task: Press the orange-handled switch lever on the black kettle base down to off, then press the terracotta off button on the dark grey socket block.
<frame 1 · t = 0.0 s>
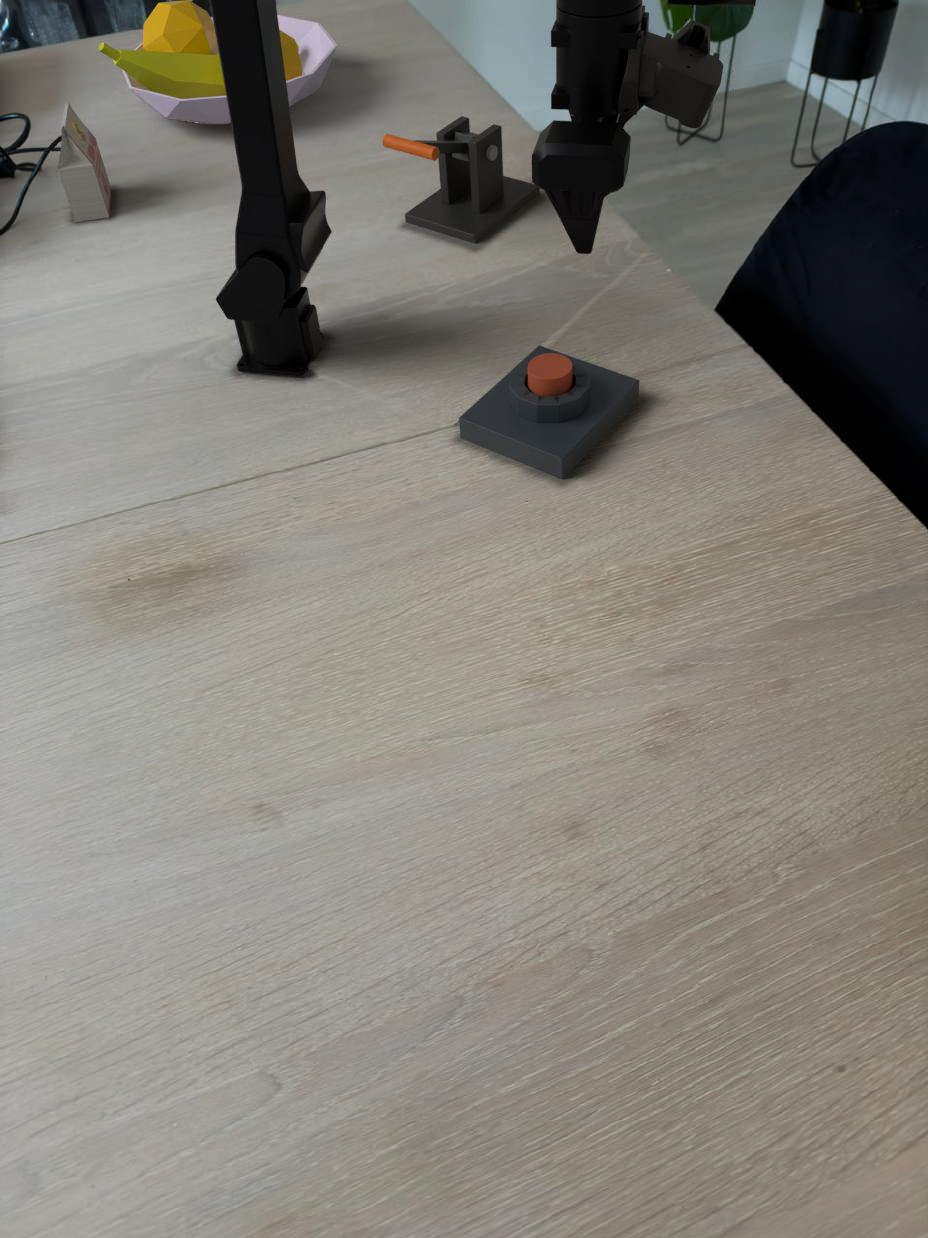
hand: (593, 221, 84), 15 cm above the table, tool pointing down, fingers open, 9 cm apart
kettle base: (473, 211, 116), on the table
switch lever: (443, 146, 108), point 9 cm above the table, hinge at 22.0°
fruit bowl: (229, 105, 139), on the table
small milk carton: (94, 206, 123), on the table
off button: (550, 374, 88), point 5 cm above the table, slide at 0.2 cm
socket block: (550, 419, 92), on the table
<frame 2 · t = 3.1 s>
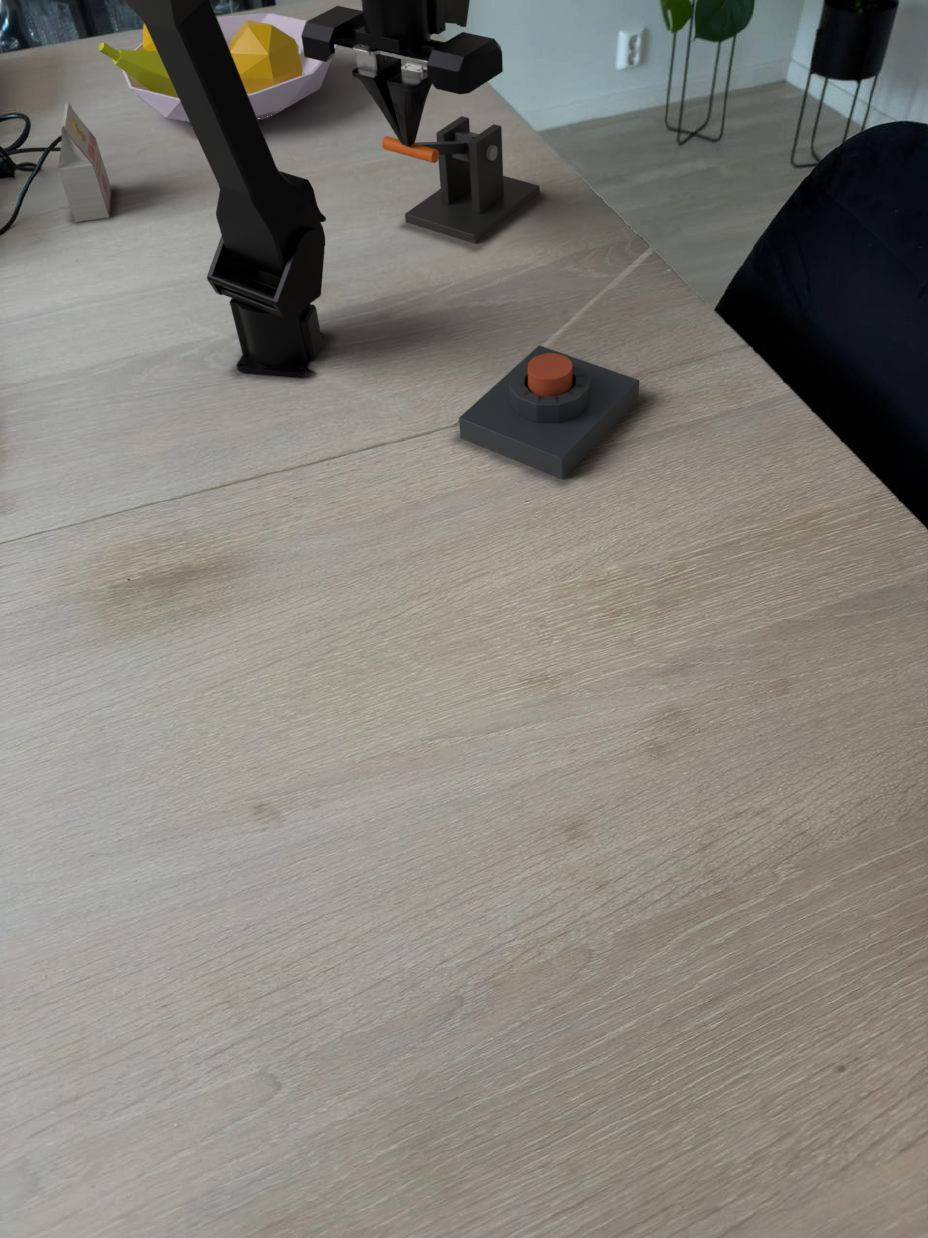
hand: (408, 143, 103), 11 cm above the table, tool pointing down, fingers closed, pressing on switch lever
switch lever: (443, 147, 108), point 9 cm above the table, hinge at 20.7°, touching gripper
everything else where it was.
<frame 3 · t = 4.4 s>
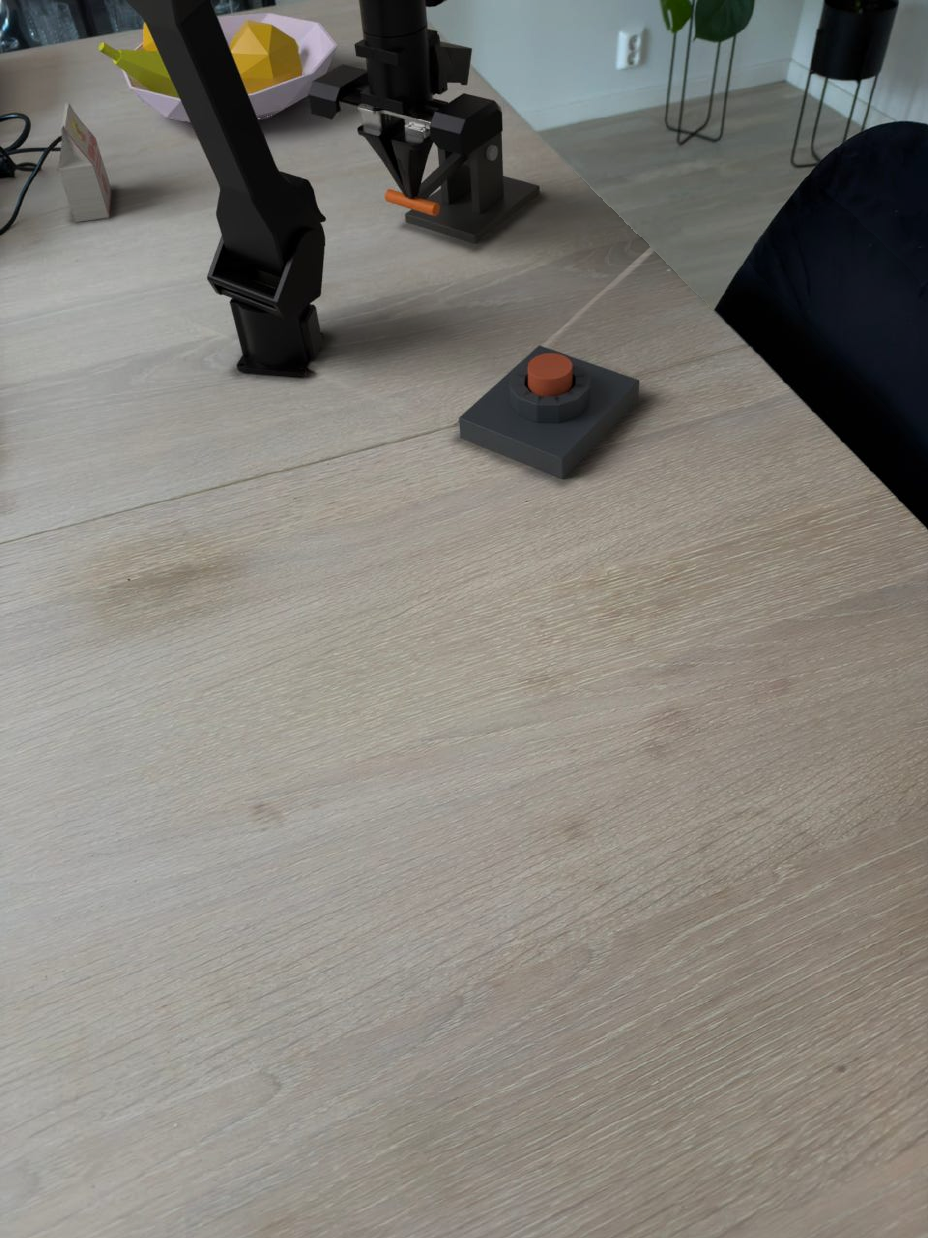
hand: (411, 196, 107), 6 cm above the table, tool pointing down, fingers closed, pressing on switch lever
switch lever: (443, 171, 109), point 6 cm above the table, hinge at -8.6°, touching gripper
everything else where it was.
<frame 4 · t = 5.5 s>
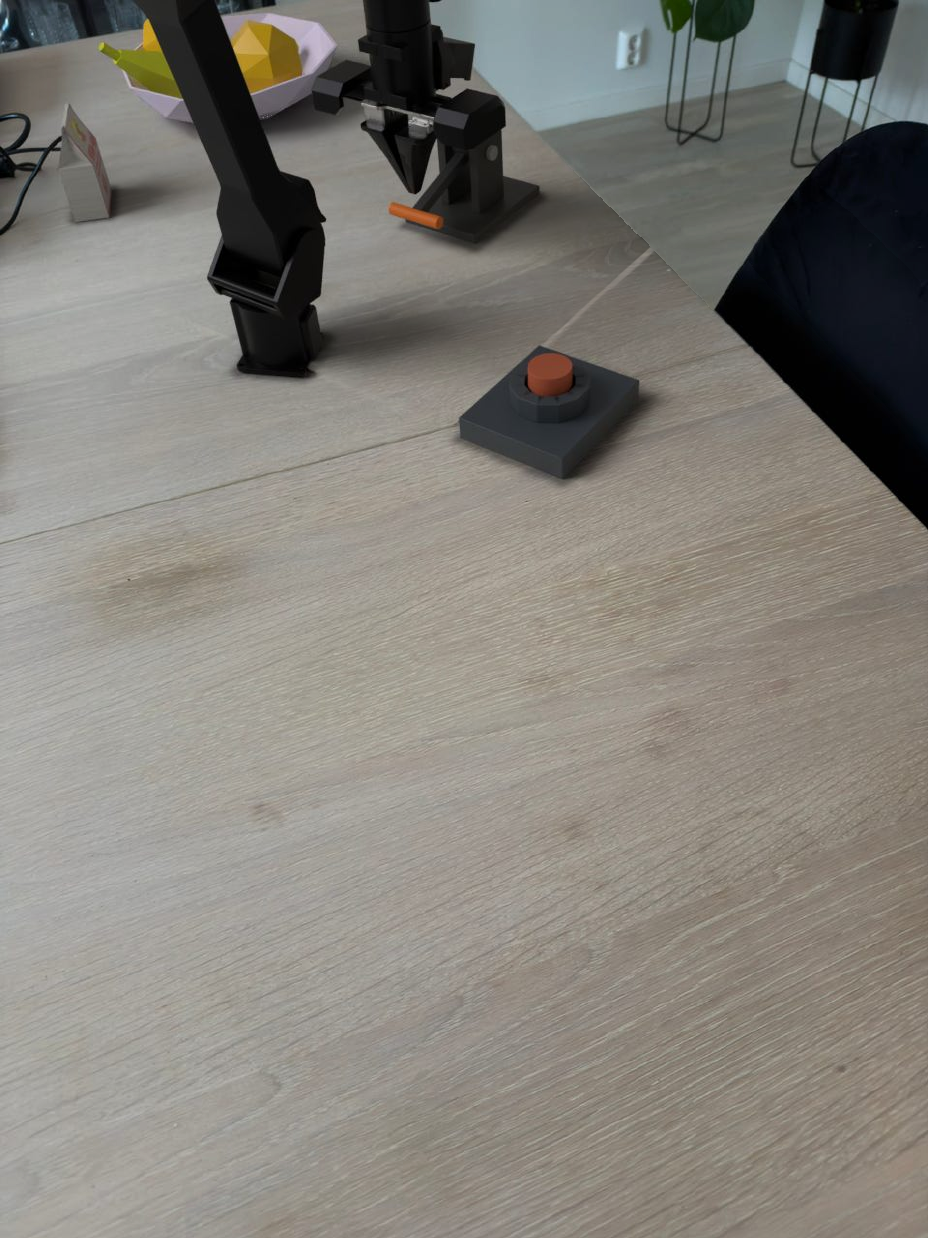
hand: (415, 191, 107), 6 cm above the table, tool pointing down, fingers closed
switch lever: (445, 177, 110), point 6 cm above the table, hinge at -17.6°
everything else where it was.
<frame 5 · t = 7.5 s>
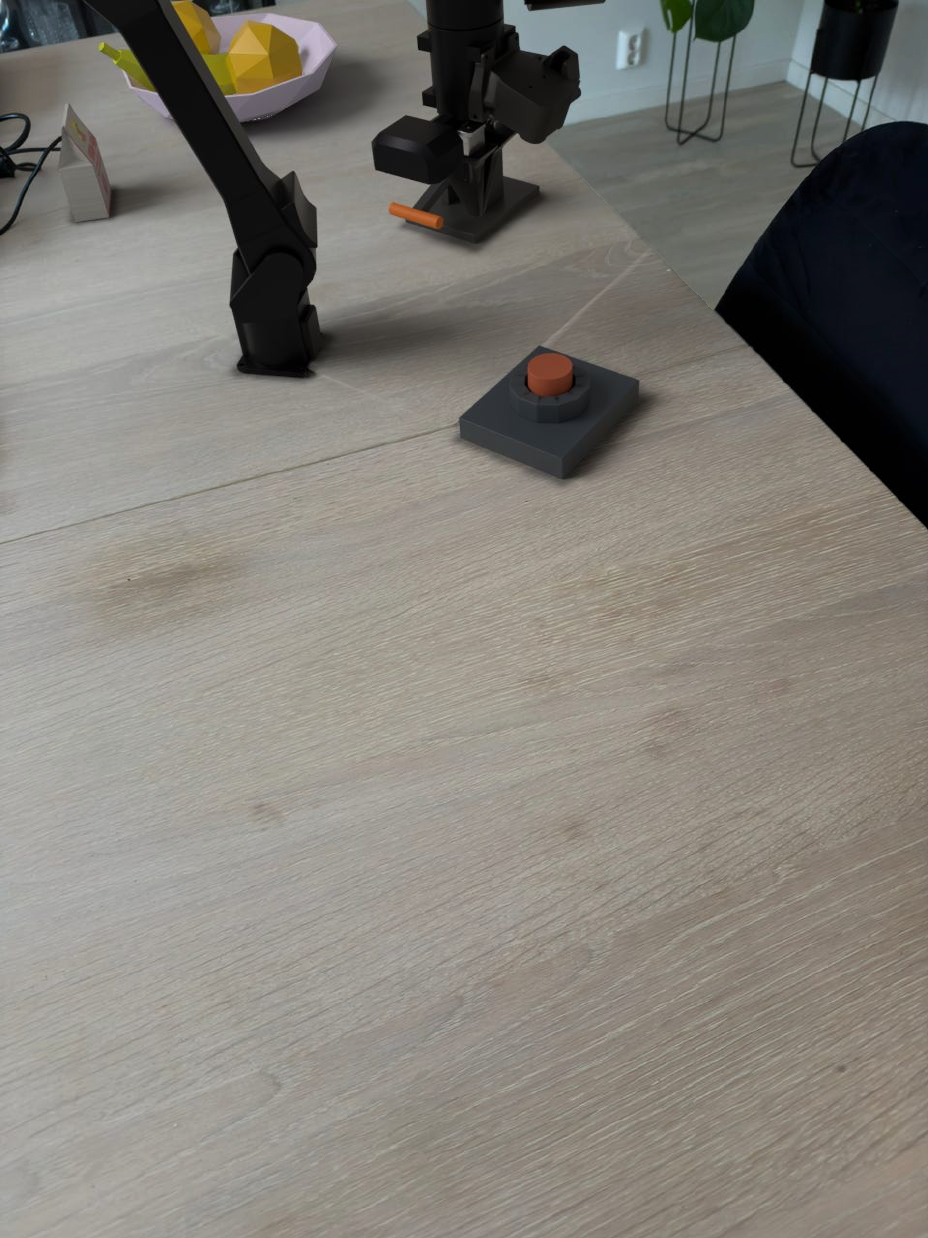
hand: (476, 214, 92), 12 cm above the table, tool pointing down, fingers closed
nothing on the table moved.
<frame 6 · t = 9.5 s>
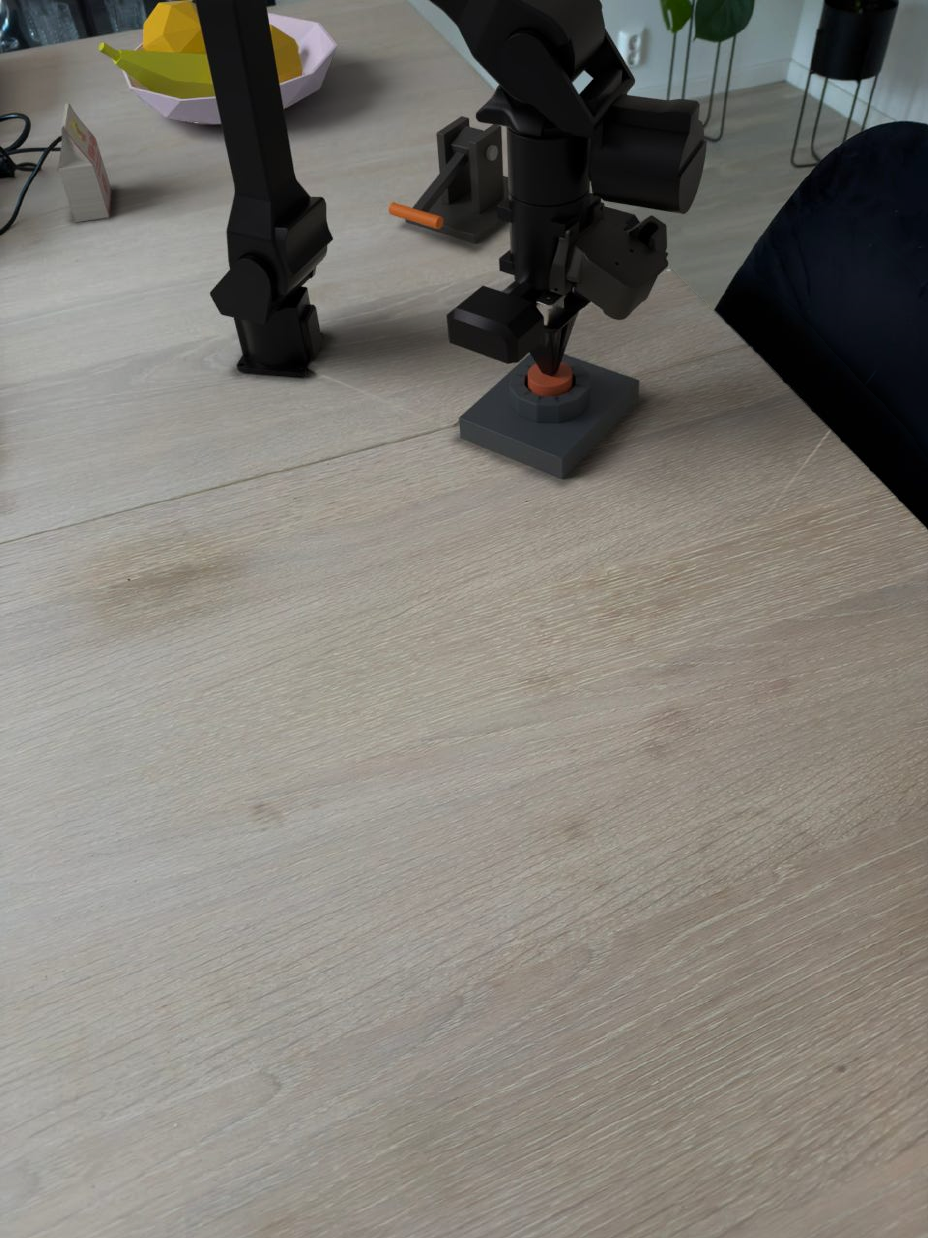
hand: (549, 372, 88), 5 cm above the table, tool pointing down, fingers closed, pressing on off button
off button: (550, 381, 89), point 4 cm above the table, slide at -0.5 cm, touching gripper
everything else where it was.
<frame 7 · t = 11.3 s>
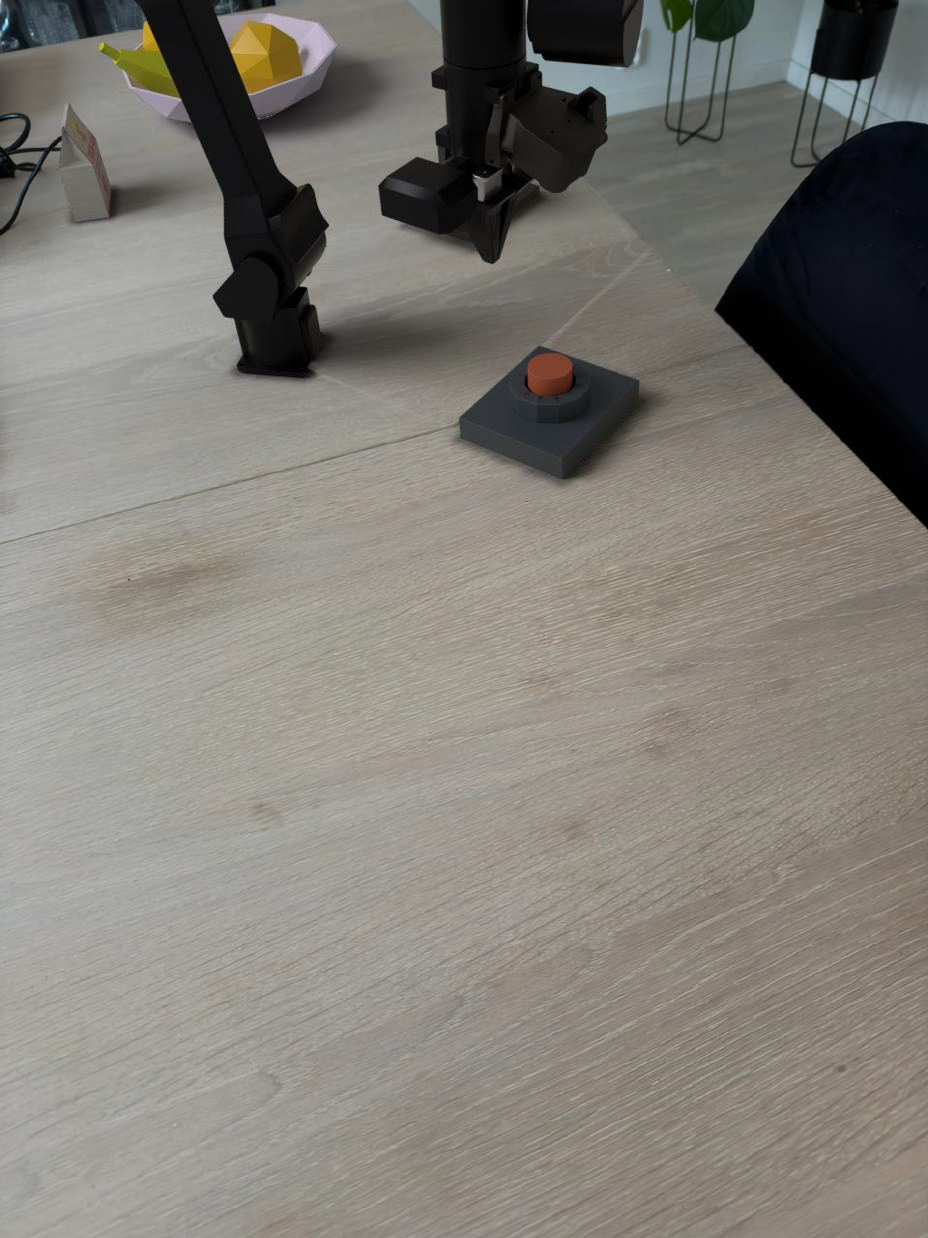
hand: (491, 260, 86), 12 cm above the table, tool pointing down, fingers closed
off button: (550, 374, 88), point 5 cm above the table, slide at 0.2 cm
everything else where it was.
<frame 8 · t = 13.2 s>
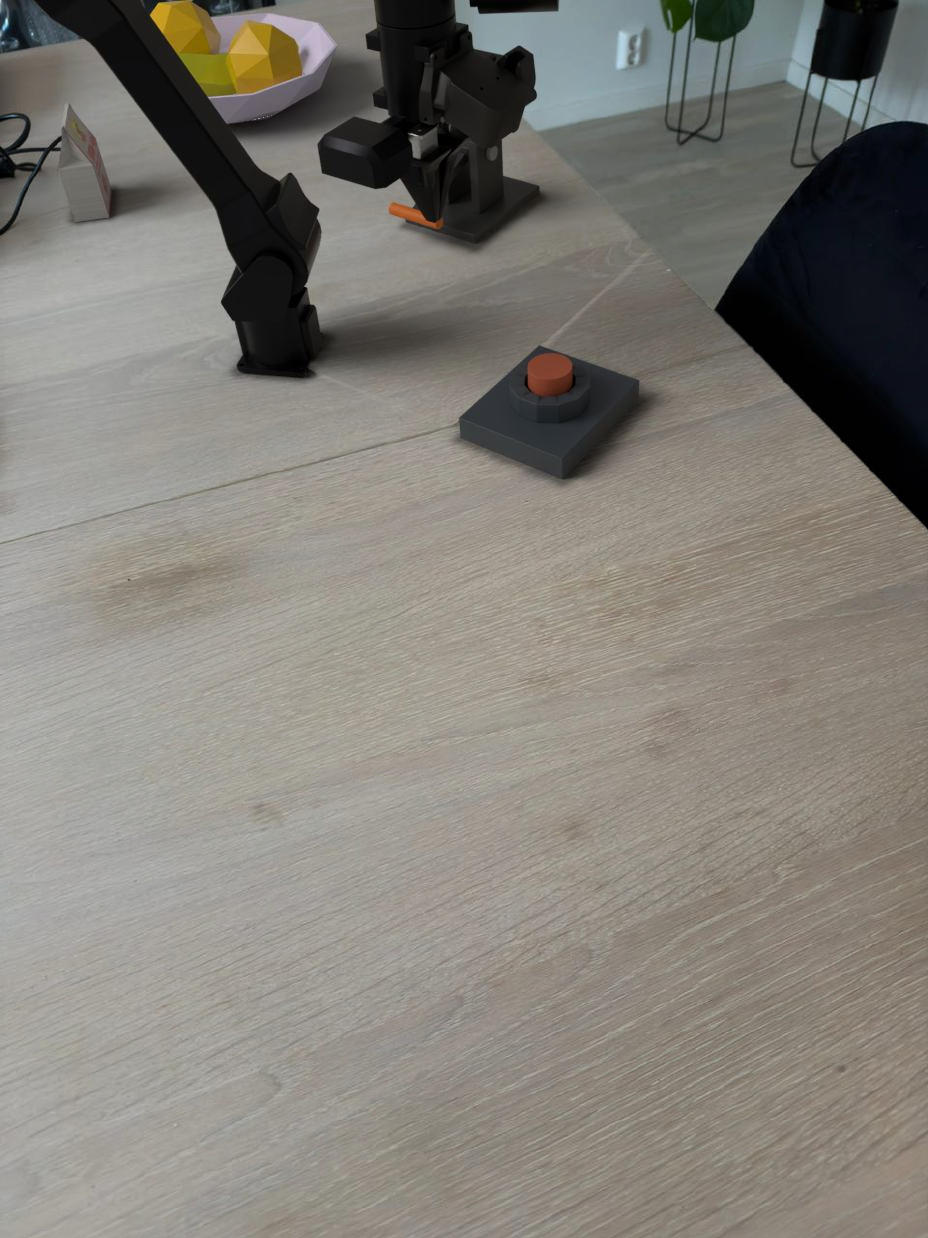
hand: (433, 220, 89), 13 cm above the table, tool pointing down, fingers closed
nothing on the table moved.
at the end: switch lever at -18° (first picture: +22°); off button pushed in 1.1 cm at the most during the clip, back to 0.2 cm at the end; off button slide at 0.2 cm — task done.
